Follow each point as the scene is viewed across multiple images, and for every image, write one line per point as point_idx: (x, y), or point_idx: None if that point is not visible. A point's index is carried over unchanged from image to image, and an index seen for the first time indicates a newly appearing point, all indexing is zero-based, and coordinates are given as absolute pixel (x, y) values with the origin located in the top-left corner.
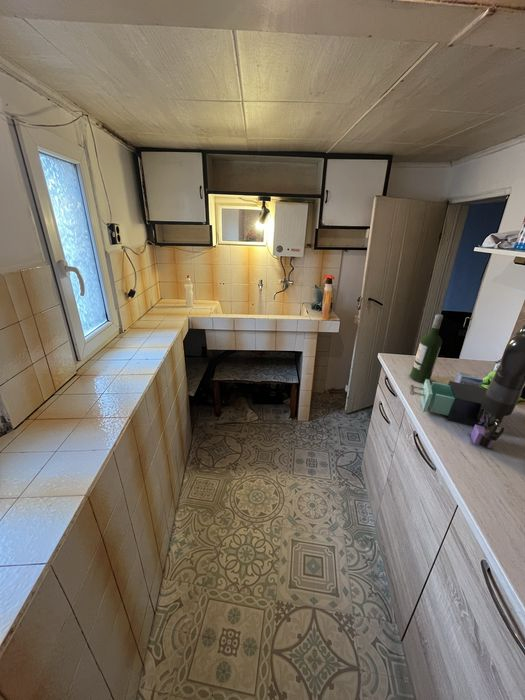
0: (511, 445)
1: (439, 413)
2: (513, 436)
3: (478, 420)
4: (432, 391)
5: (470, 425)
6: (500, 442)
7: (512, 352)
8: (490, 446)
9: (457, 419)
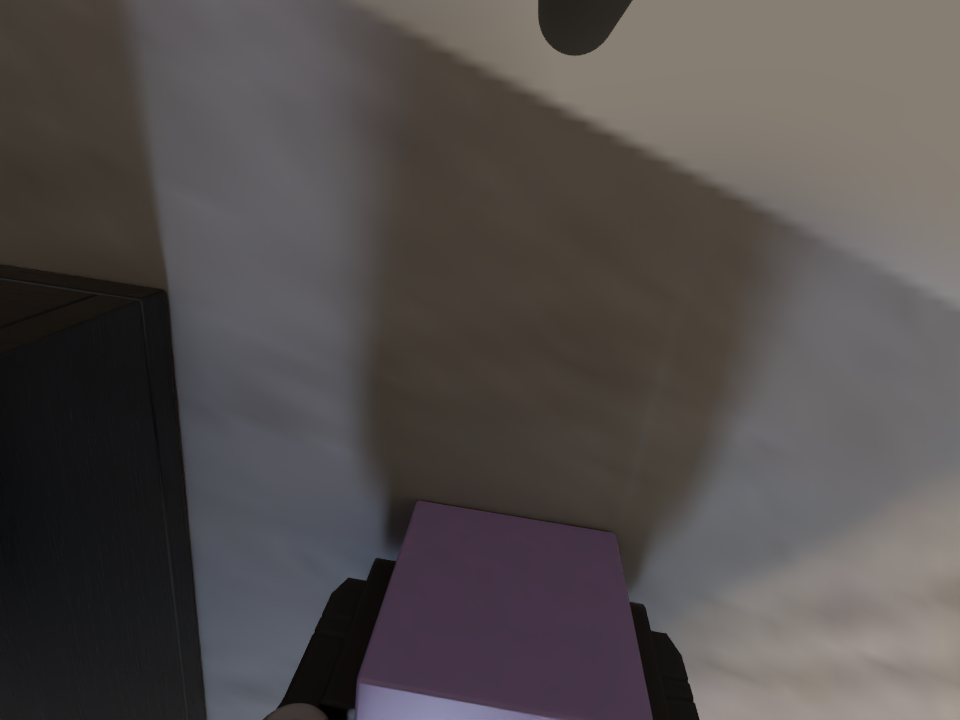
0: (445, 185)
1: None
2: (132, 4)
3: (97, 625)
4: None
5: (188, 584)
6: (425, 335)
7: None
8: (617, 557)
9: None
